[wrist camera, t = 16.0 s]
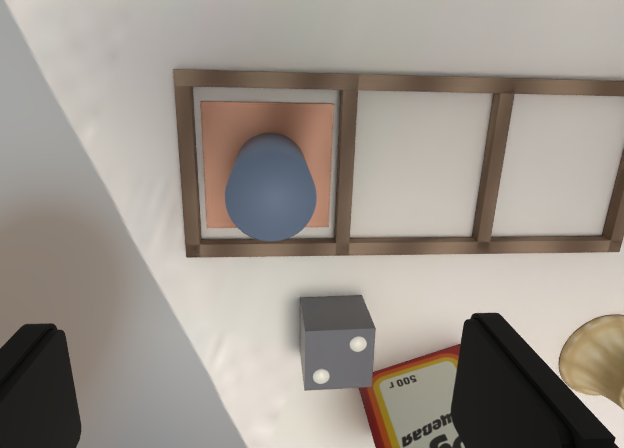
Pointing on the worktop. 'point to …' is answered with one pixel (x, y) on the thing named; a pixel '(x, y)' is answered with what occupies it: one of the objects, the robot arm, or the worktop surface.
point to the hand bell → (596, 359)
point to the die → (336, 342)
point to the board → (318, 149)
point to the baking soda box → (414, 402)
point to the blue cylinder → (270, 188)
